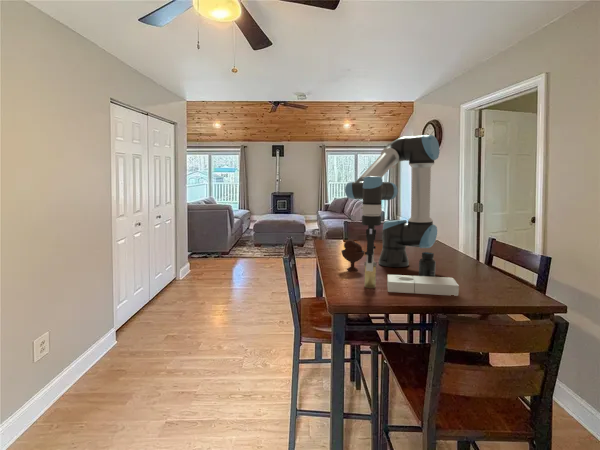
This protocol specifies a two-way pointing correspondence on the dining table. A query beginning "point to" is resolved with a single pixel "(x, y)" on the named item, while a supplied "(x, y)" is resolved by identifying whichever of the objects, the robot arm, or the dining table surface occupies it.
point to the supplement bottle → (427, 265)
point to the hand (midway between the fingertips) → (369, 267)
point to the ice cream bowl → (352, 253)
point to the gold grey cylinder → (370, 277)
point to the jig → (422, 285)
